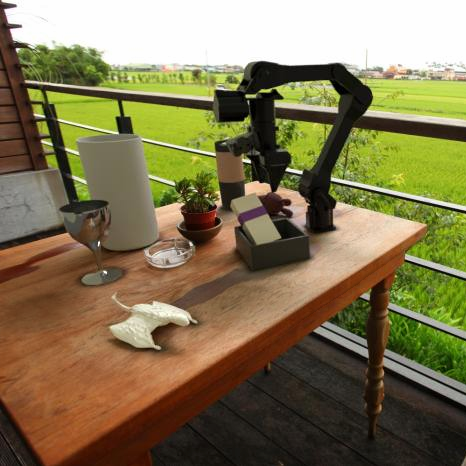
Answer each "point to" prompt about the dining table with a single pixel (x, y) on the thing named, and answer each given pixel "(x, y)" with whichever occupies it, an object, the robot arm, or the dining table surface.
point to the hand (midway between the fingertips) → (267, 187)
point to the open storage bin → (274, 246)
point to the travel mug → (229, 174)
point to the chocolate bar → (254, 220)
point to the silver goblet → (90, 233)
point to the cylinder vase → (121, 187)
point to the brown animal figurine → (275, 204)
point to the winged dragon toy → (147, 322)
